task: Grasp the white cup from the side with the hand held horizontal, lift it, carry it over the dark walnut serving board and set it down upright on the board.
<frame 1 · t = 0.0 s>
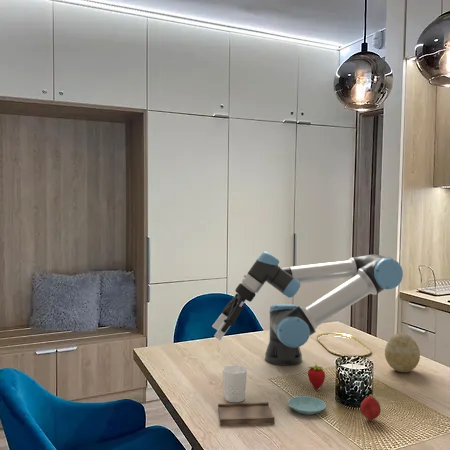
hand: (215, 333, 184), 15 cm above the table, tool tilted 35°, fingers open, 13 cm apart
saucer: (307, 410, 152), on the table
red rounded fruit: (370, 421, 144), on the table
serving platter: (342, 347, 219), on the table
walnut board: (245, 416, 147), on the table
strawberry: (316, 390, 167), on the table
white cup: (234, 399, 160), on the table
fossilized egg: (401, 371, 186), on the table
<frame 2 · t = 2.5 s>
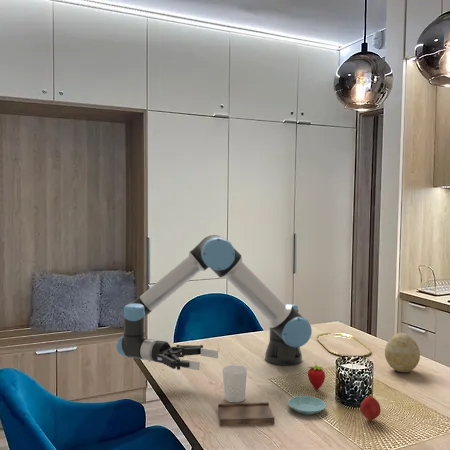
hand: (208, 359, 164), 12 cm above the table, tool horizontal, fingers open, 13 cm apart
nothing on the table moved.
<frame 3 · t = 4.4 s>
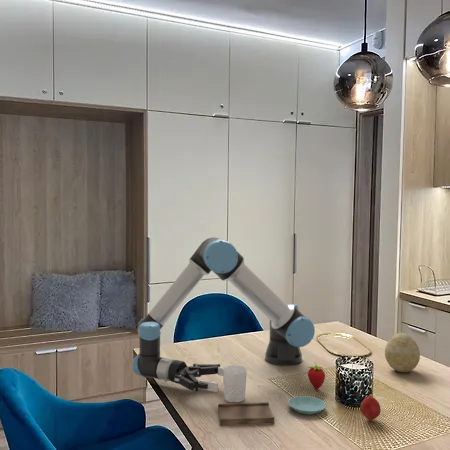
hand: (226, 380, 161), 6 cm above the table, tool horizontal, fingers open, 13 cm apart
nothing on the table moved.
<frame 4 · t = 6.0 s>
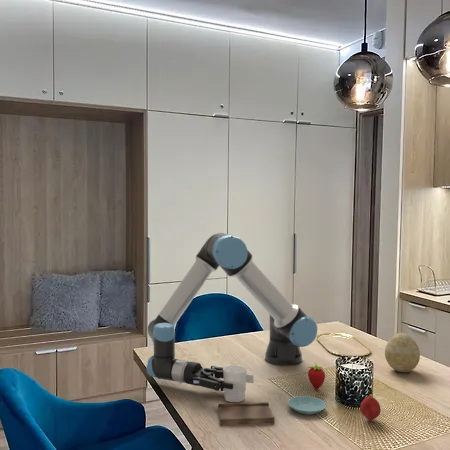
hand: (248, 383, 158), 6 cm above the table, tool horizontal, fingers closed on white cup, 7 cm apart
white cup: (234, 399, 160), on the table, touching gripper
everything else where it was.
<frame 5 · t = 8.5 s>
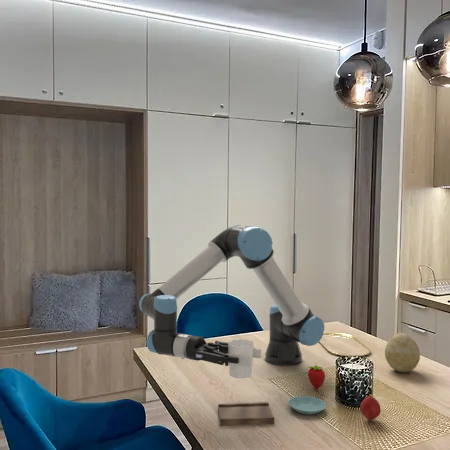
hand: (255, 357, 146), 18 cm above the table, tool horizontal, fingers closed on white cup, 7 cm apart
white cup: (240, 375, 148), point 12 cm above the table, touching gripper
everything else where it was.
when the fingers open (9 cm above the table, at t = 10.8 s): white cup drops 1 cm, resting on walnut board.
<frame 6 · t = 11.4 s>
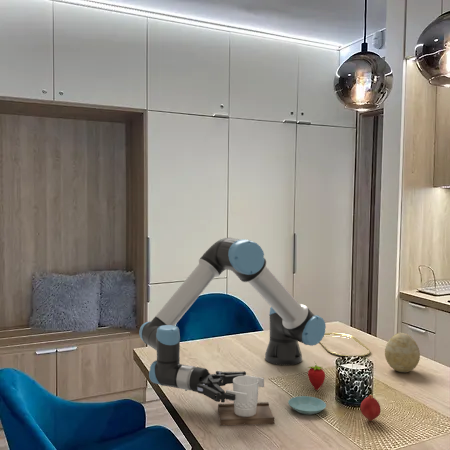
hand: (255, 390, 145), 9 cm above the table, tool horizontal, fingers open, 13 cm apart
white cup: (245, 412, 147), point 1 cm above the table, touching walnut board
everything else where it was.
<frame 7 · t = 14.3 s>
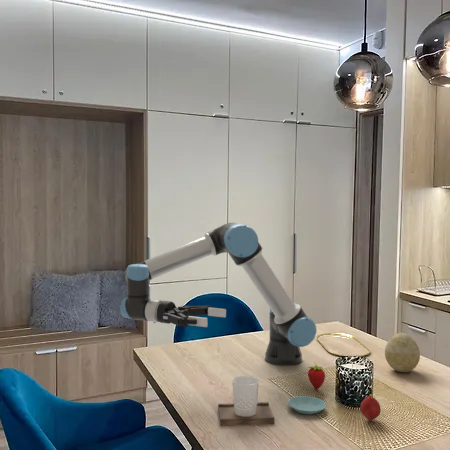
hand: (216, 317, 157), 28 cm above the table, tool horizontal, fingers open, 13 cm apart
nothing on the table moved.
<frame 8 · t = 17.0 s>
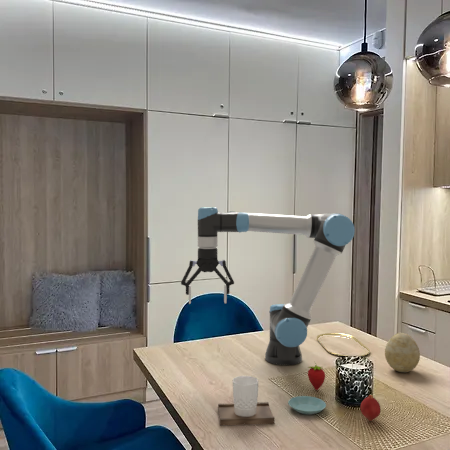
hand: (207, 303, 184), 27 cm above the table, tool pointing down, fingers open, 13 cm apart
nothing on the table moved.
at the end: white cup inside the target area on the walnut board (0.0 cm from its centre), point 1.0 cm above the walnut board's base; white cup tilted 0°; the gripper is holding nothing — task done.
